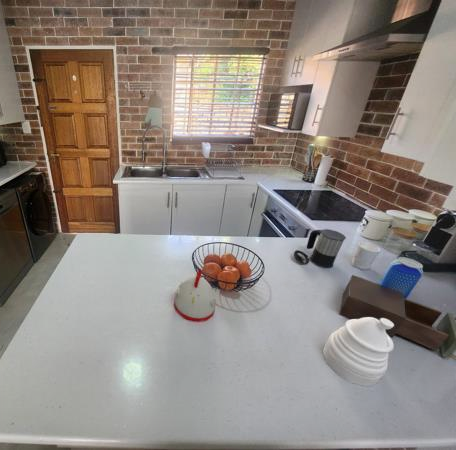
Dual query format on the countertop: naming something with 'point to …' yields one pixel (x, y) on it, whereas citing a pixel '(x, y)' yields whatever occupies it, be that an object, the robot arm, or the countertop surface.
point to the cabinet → (373, 303)
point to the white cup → (365, 255)
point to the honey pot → (360, 350)
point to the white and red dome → (195, 299)
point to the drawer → (429, 328)
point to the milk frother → (322, 248)
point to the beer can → (402, 275)
